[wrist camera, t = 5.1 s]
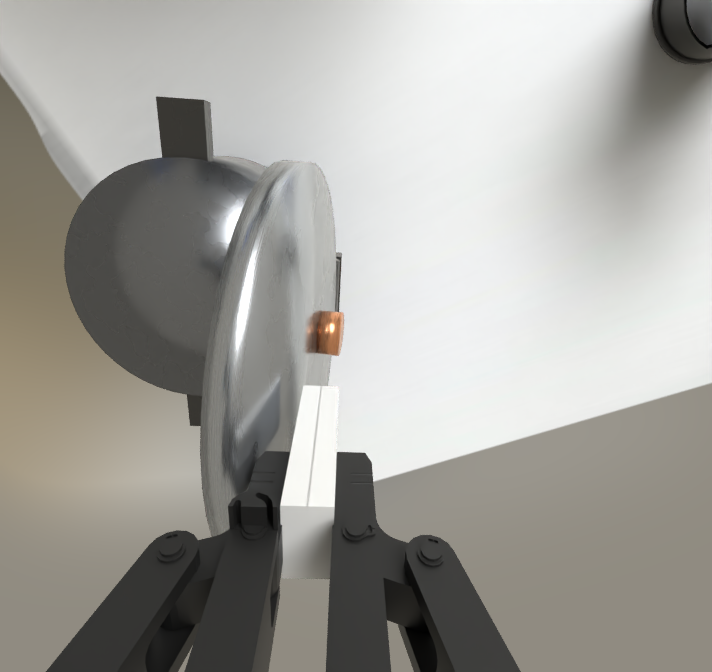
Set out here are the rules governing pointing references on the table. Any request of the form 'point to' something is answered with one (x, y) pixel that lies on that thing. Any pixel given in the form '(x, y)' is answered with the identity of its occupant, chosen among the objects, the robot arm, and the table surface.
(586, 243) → the table surface
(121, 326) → the pot
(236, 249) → the lid
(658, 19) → the french press
